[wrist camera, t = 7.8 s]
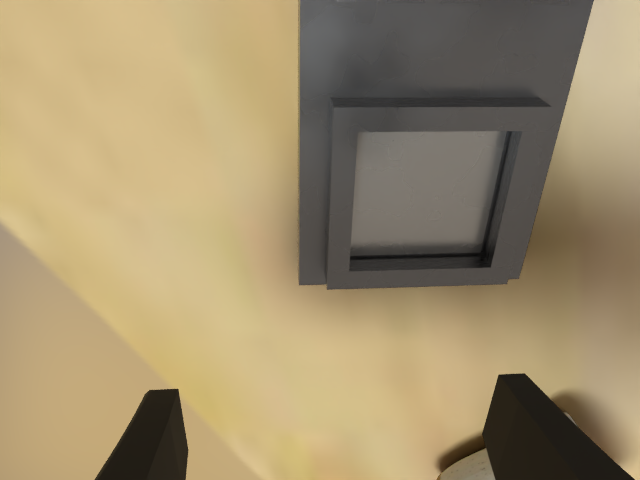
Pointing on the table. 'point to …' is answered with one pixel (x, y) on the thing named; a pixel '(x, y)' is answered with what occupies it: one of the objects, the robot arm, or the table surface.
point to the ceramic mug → (474, 466)
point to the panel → (427, 135)
